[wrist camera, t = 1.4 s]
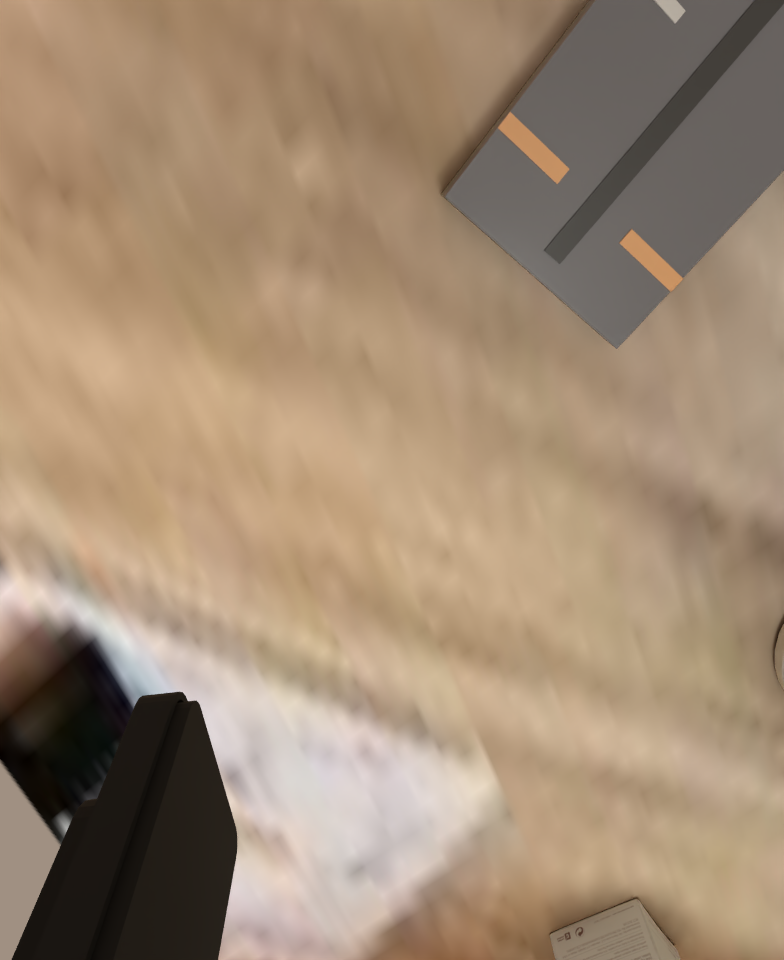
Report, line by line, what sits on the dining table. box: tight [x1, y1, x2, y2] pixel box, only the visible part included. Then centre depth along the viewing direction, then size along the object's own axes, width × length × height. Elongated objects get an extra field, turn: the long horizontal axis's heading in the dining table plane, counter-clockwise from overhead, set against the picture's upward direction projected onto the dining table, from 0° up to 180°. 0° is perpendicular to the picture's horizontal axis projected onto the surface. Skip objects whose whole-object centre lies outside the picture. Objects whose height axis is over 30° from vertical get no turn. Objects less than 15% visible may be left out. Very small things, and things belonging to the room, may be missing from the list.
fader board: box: [441, 0, 784, 349], centre depth 27 cm, size 10×20×2 cm, turn 141°
